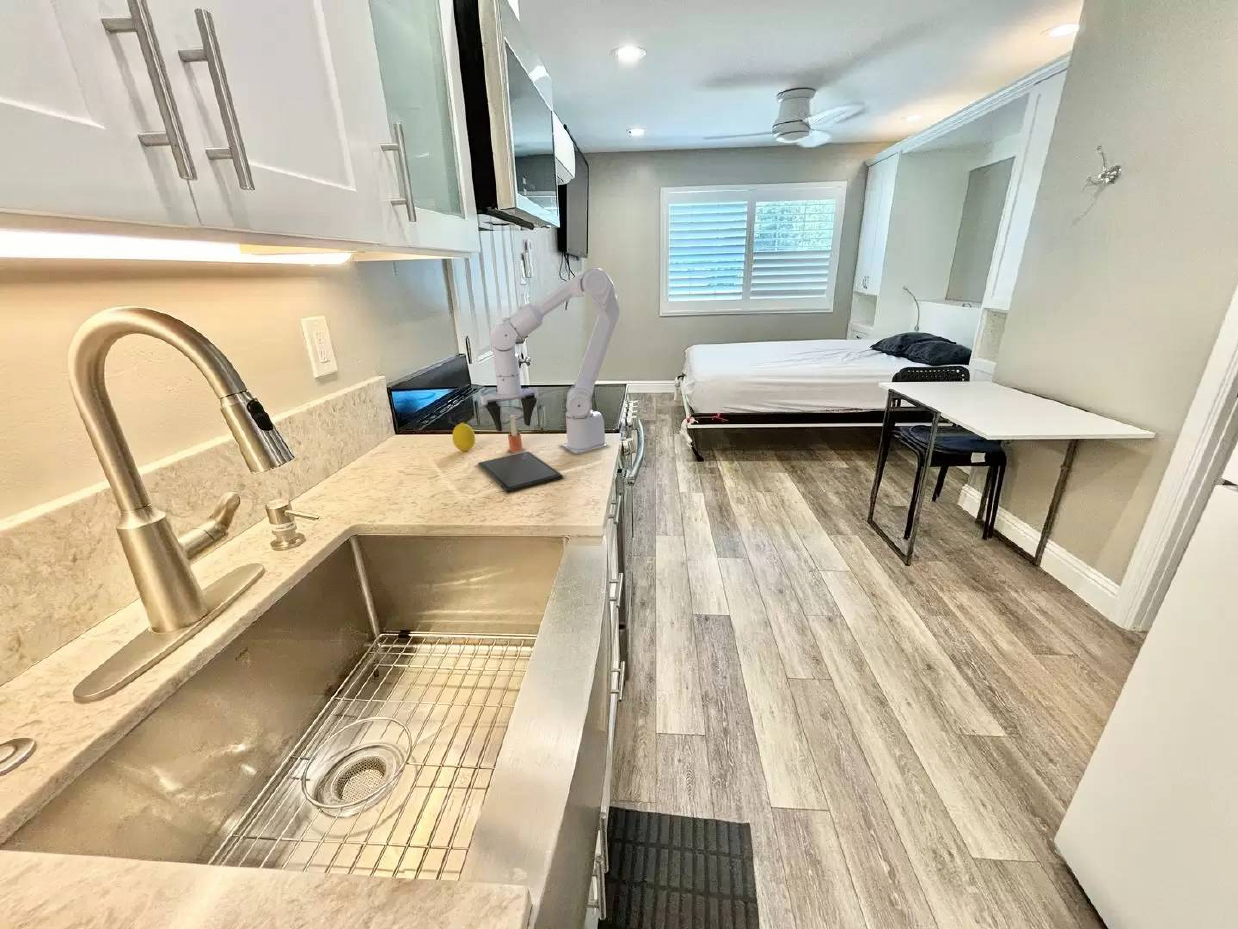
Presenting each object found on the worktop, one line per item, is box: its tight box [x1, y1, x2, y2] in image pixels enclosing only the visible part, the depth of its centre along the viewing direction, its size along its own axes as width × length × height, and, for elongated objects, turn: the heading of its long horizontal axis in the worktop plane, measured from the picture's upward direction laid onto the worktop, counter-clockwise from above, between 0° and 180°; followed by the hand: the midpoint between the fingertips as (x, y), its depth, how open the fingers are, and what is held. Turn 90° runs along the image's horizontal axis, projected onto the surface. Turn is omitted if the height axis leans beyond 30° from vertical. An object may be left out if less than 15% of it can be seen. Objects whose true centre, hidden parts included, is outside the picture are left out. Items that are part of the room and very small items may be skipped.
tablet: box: [477, 451, 563, 494], centre depth 114 cm, size 13×19×1 cm
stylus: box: [509, 414, 518, 436], centre depth 126 cm, size 1×1×9 cm
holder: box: [507, 432, 523, 452], centre depth 127 cm, size 3×3×4 cm
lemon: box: [452, 422, 476, 452], centre depth 126 cm, size 6×6×8 cm
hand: (513, 427), depth 125 cm, fingers open, 7 cm apart
